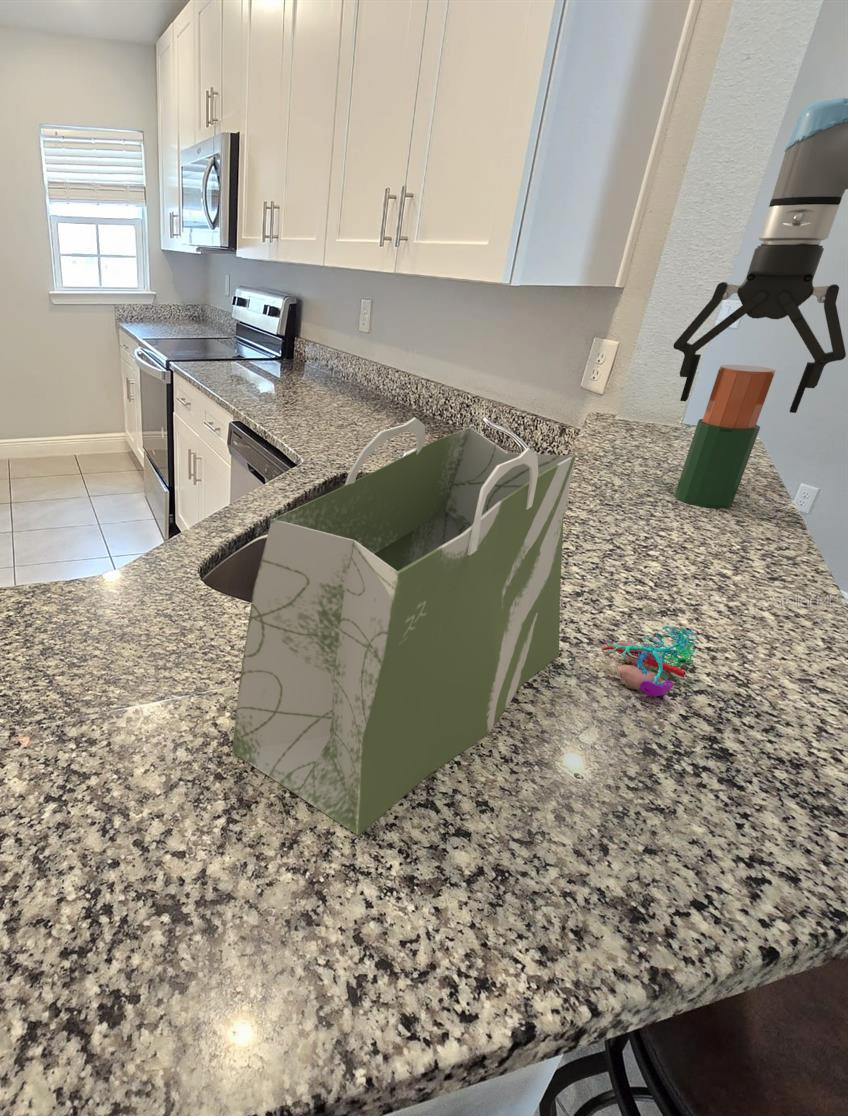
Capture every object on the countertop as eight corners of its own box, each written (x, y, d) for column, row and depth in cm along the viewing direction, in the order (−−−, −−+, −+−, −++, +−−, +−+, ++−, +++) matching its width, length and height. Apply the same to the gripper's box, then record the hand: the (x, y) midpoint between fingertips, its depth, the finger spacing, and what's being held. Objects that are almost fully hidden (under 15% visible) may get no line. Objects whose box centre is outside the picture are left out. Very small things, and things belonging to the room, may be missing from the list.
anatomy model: (594, 635, 59) (684, 654, 54) (620, 605, 64) (704, 620, 60) (588, 686, 61) (674, 709, 56) (614, 653, 66) (694, 671, 62)
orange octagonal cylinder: (756, 423, 101) (776, 367, 97) (753, 431, 96) (774, 373, 92) (705, 416, 104) (722, 363, 101) (700, 424, 100) (718, 368, 96)
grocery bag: (374, 846, 43) (420, 508, 32) (225, 747, 52) (222, 454, 41) (565, 658, 64) (631, 412, 53) (436, 609, 72) (471, 389, 62)
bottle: (733, 498, 106) (773, 389, 99) (729, 511, 101) (771, 396, 93) (678, 488, 111) (712, 383, 103) (671, 501, 105) (706, 390, 97)
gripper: (680, 243, 93) (638, 399, 103) (918, 242, 80) (844, 421, 89) (687, 244, 98) (646, 392, 108) (911, 243, 85) (842, 411, 95)
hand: (736, 405), depth 99 cm, fingers open, 13 cm apart
